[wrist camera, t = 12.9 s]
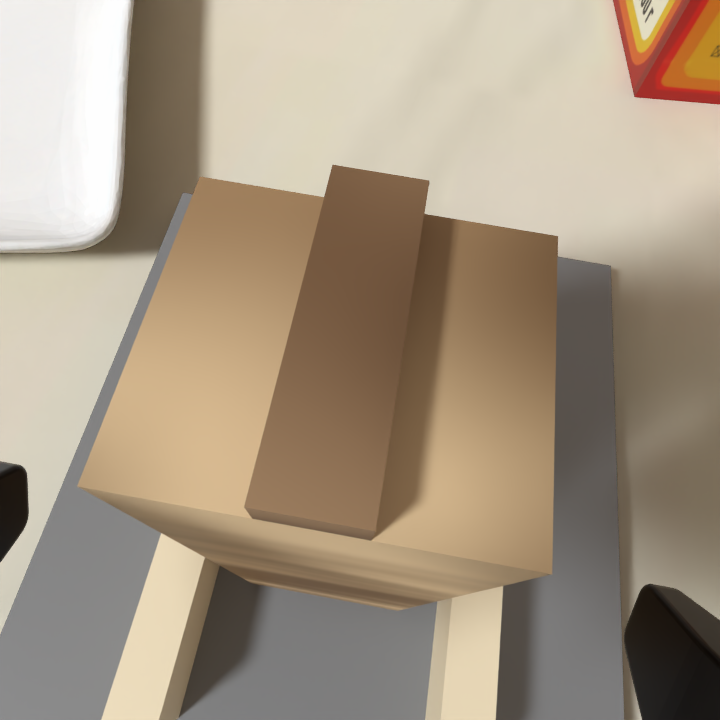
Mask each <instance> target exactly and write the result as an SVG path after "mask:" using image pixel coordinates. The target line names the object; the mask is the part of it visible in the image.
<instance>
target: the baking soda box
mask: <svg viewBox="0 0 720 720" xmlns="http://www.w3.org/2000/svg"><path fill="white" fill-rule="evenodd" d="M613 2H614V7H615V11H616V16H617V20H618V25H619V29H620V34H621V38H622V43H623V47H624V52H625V56H626V61H627V65H628V70H629V74H630V79H631V83H632V88H633V92H634V97H640V98H652V99H663V100H675V101H687V102H698V103H710V104H720V0H613Z"/></svg>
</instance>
